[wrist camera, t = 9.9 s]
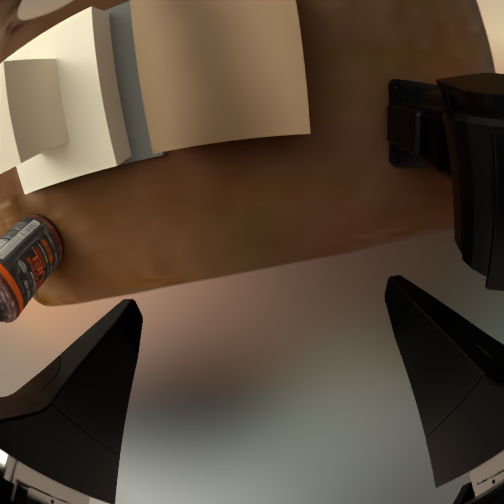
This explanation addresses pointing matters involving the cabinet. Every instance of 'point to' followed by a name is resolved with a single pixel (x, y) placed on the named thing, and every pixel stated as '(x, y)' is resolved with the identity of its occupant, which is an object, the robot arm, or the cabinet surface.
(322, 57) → the cabinet surface
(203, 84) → the storage box
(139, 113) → the mat
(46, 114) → the lid
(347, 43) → the cabinet surface
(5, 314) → the supplement bottle
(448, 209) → the cabinet surface
